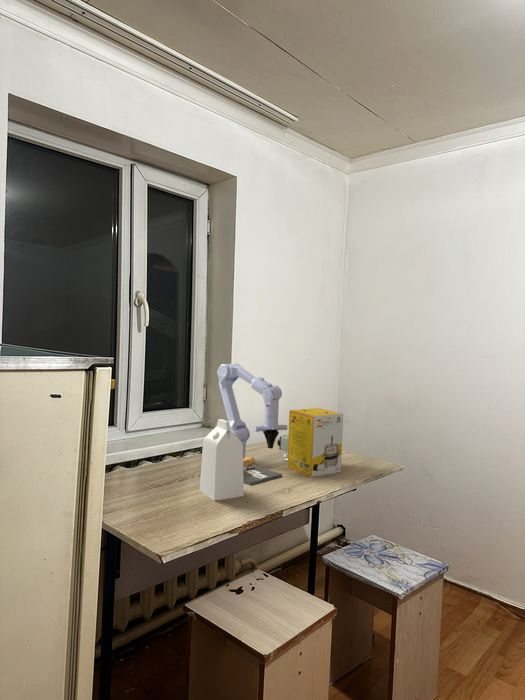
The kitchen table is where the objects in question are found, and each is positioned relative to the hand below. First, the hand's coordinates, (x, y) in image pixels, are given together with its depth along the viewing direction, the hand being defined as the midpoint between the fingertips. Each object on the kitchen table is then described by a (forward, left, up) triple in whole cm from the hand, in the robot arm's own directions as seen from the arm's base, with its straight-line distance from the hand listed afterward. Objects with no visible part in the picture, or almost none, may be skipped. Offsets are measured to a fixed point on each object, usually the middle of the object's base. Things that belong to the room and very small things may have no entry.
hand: (270, 447), depth 197 cm
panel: (-2, -10, -10) cm, 14 cm away
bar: (-6, -11, -7) cm, 15 cm away
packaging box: (+10, +17, -10) cm, 22 cm away
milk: (+8, -33, -10) cm, 35 cm away
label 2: (+5, -10, -10) cm, 15 cm away
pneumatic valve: (-6, +20, -10) cm, 23 cm away
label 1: (0, -9, -10) cm, 13 cm away
